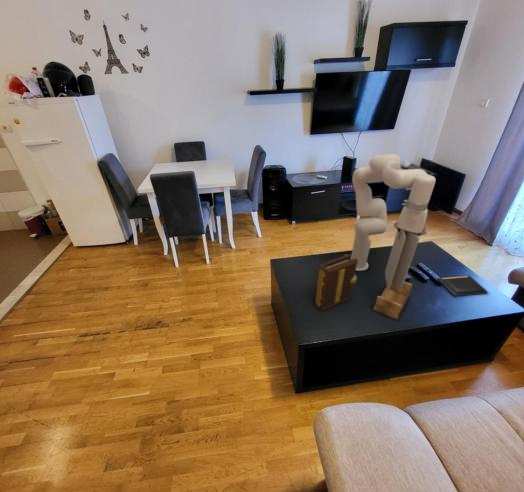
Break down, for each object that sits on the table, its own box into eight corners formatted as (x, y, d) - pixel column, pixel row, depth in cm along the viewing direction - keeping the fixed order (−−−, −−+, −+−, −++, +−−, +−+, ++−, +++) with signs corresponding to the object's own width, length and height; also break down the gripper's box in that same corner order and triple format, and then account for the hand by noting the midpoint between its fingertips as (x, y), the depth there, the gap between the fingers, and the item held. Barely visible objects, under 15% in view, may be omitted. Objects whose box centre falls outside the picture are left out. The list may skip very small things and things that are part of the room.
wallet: (454, 293, 147) (437, 276, 160) (452, 296, 148) (436, 278, 161) (490, 291, 148) (470, 274, 161) (488, 294, 149) (469, 276, 162)
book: (322, 312, 141) (327, 273, 127) (312, 301, 147) (316, 263, 133) (355, 297, 149) (363, 259, 135) (344, 288, 156) (351, 251, 142)
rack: (372, 309, 142) (376, 296, 137) (385, 289, 155) (389, 276, 149) (397, 320, 136) (402, 306, 130) (408, 297, 148) (413, 284, 143)
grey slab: (400, 293, 132) (419, 238, 116) (388, 291, 134) (405, 237, 117) (395, 275, 144) (412, 223, 127) (384, 273, 145) (399, 222, 128)
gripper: (393, 203, 117) (383, 240, 128) (437, 213, 109) (423, 252, 119) (398, 197, 122) (389, 234, 132) (441, 206, 114) (427, 244, 124)
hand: (405, 242), depth 126 cm, fingers closed on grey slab, 3 cm apart
